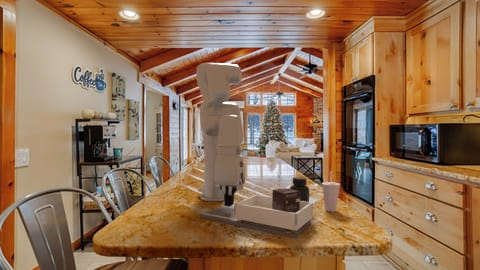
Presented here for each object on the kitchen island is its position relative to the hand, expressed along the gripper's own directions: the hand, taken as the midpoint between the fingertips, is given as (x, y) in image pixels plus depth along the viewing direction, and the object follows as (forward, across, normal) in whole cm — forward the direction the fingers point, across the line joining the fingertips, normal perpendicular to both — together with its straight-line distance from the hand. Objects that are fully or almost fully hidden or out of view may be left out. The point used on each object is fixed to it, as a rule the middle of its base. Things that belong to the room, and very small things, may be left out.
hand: (229, 205), depth 96 cm
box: (0, -21, 0) cm, 21 cm away
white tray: (+2, -17, 0) cm, 17 cm away
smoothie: (+4, -28, -24) cm, 37 cm away
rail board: (+3, -10, 0) cm, 10 cm away
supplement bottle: (+4, -19, -16) cm, 25 cm away
